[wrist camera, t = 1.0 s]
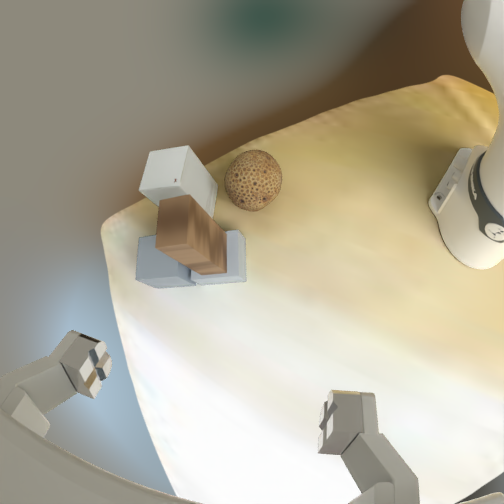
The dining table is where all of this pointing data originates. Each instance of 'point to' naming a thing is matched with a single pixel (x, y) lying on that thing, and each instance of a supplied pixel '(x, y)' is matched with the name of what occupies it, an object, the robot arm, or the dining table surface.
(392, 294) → the dining table surface
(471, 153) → the robot arm
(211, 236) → the frame block
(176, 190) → the supplement box
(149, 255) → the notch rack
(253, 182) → the natural sponge
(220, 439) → the dining table surface
